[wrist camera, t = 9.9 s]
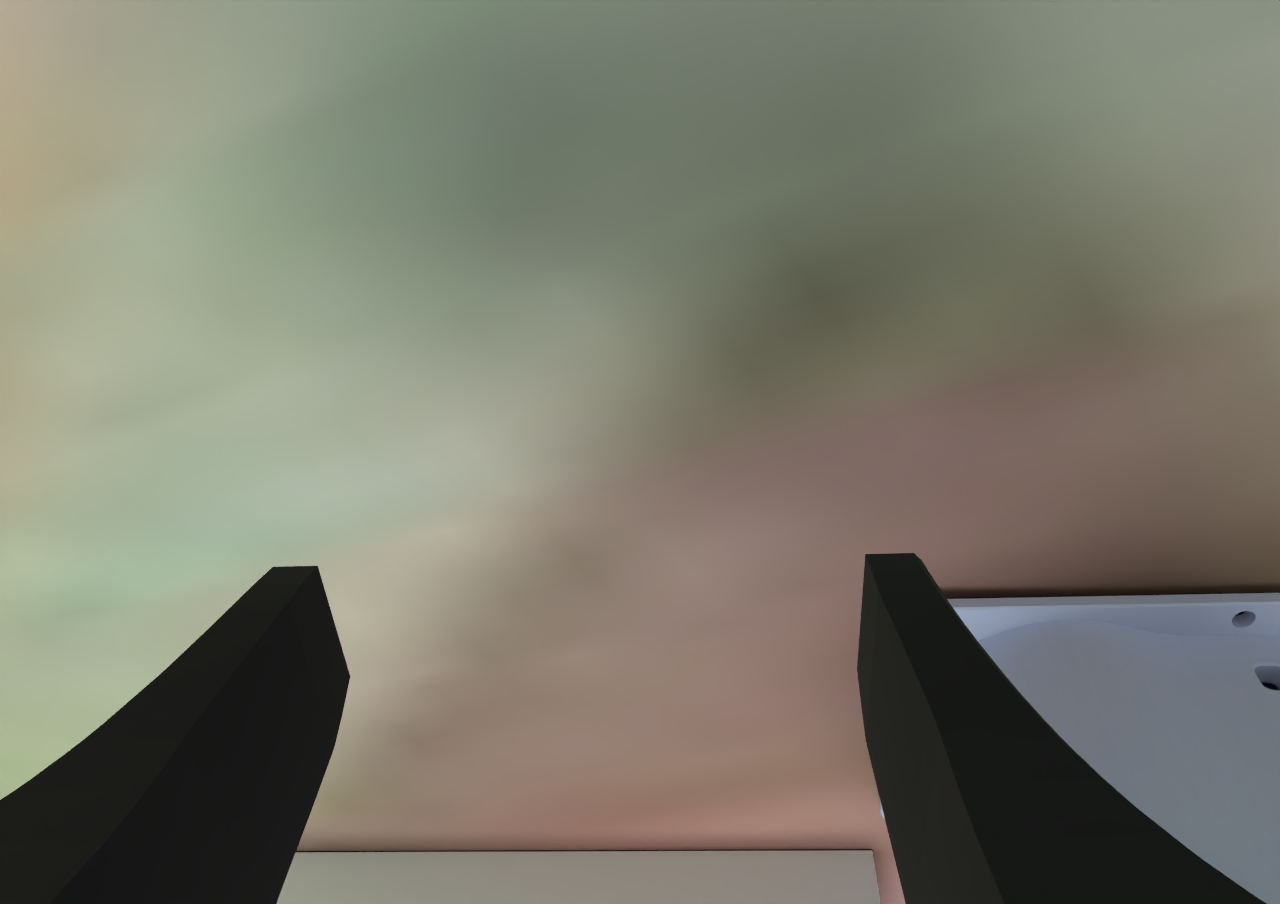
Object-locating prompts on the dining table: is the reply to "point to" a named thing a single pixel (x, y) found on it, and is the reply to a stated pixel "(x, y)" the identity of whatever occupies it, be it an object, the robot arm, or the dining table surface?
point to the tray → (582, 877)
